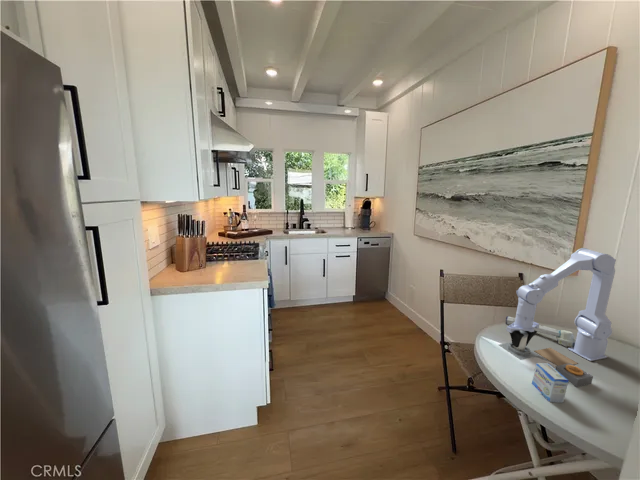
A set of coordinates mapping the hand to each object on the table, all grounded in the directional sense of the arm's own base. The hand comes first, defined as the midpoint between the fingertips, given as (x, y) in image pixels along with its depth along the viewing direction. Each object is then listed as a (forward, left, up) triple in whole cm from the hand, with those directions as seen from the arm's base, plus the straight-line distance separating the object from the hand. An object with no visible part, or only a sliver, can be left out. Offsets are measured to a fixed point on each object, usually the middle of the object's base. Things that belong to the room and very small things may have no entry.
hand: (519, 345), depth 109 cm
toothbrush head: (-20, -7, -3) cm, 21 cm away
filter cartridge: (0, 0, -2) cm, 2 cm away
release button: (-4, +17, -3) cm, 18 cm away
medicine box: (+12, +20, -3) cm, 24 cm away
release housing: (-4, +17, -3) cm, 18 cm away
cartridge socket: (0, 0, -3) cm, 3 cm away
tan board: (-10, +7, -3) cm, 13 cm away
